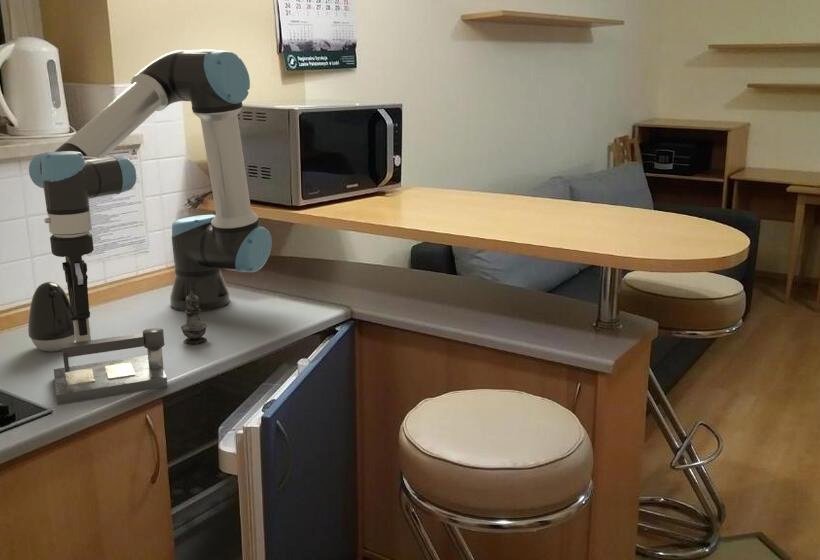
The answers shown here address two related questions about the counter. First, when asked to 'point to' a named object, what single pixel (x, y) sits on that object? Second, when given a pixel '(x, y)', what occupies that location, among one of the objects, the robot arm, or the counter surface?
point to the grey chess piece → (193, 322)
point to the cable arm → (113, 344)
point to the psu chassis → (110, 378)
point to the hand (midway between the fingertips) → (84, 348)
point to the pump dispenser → (50, 318)
